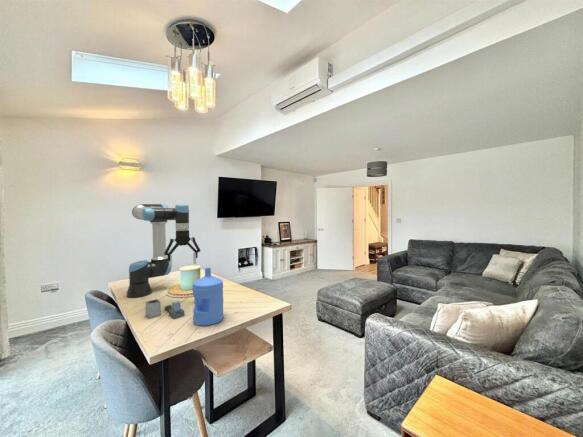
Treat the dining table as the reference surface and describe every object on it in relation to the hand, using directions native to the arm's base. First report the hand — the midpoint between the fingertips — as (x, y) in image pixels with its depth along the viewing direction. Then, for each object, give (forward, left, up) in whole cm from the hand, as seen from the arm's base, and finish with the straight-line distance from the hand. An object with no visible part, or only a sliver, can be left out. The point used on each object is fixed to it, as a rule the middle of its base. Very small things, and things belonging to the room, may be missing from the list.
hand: (183, 265), depth 147 cm
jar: (-3, +13, -27) cm, 30 cm away
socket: (-2, -16, -27) cm, 31 cm away
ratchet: (+3, -7, -27) cm, 28 cm away
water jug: (+26, +3, -27) cm, 37 cm away
